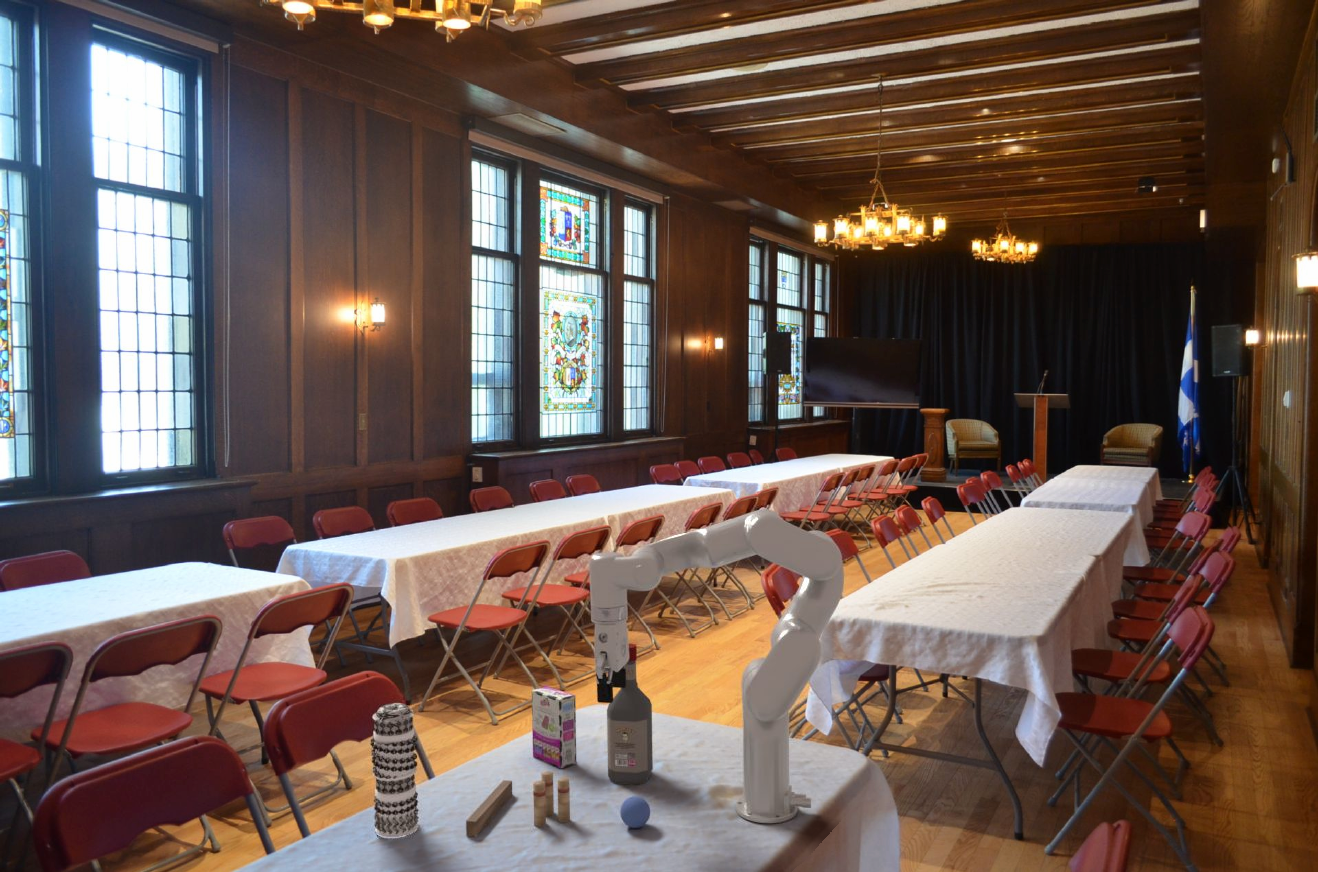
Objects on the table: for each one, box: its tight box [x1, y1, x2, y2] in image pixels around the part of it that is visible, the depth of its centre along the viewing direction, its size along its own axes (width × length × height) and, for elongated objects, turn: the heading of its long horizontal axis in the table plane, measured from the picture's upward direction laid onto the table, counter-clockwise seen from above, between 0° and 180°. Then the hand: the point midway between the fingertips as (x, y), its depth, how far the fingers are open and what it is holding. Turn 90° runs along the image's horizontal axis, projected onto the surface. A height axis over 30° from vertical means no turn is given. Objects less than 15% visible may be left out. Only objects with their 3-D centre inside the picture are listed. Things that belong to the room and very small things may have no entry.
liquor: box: [606, 643, 654, 786], centre depth 220 cm, size 9×9×30 cm
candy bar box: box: [531, 685, 577, 769], centre depth 231 cm, size 11×5×16 cm, turn 45°
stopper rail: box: [465, 779, 513, 837], centre depth 203 cm, size 2×20×3 cm, turn 168°
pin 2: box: [540, 770, 555, 817], centre depth 202 cm, size 2×2×8 cm
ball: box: [619, 795, 651, 829], centre depth 196 cm, size 6×6×6 cm
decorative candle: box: [370, 702, 420, 837], centre depth 196 cm, size 9×9×25 cm
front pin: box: [556, 776, 571, 824], centre depth 199 cm, size 2×2×8 cm
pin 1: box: [532, 780, 547, 828], centre depth 198 cm, size 2×2×8 cm
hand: (612, 694), depth 202 cm, fingers open, 9 cm apart
